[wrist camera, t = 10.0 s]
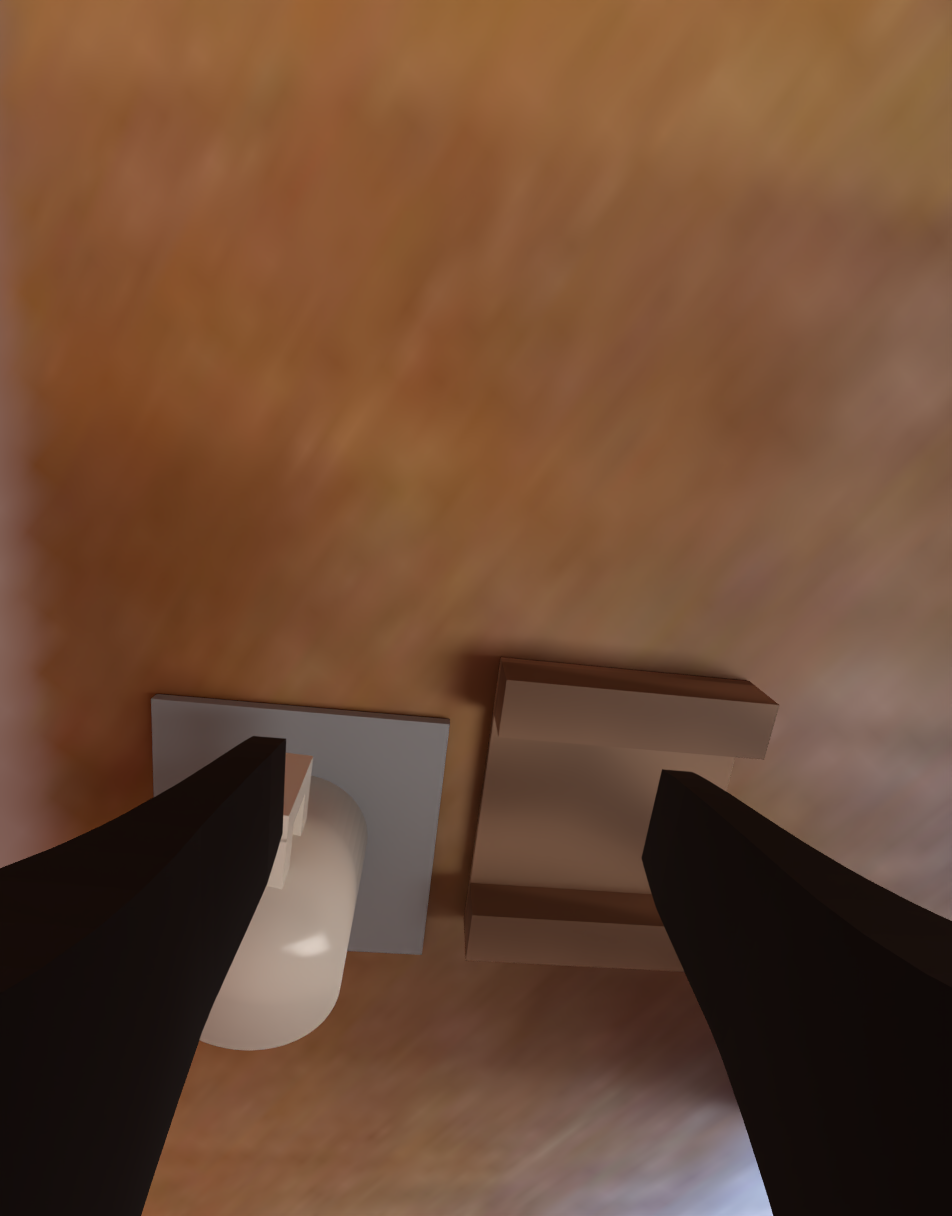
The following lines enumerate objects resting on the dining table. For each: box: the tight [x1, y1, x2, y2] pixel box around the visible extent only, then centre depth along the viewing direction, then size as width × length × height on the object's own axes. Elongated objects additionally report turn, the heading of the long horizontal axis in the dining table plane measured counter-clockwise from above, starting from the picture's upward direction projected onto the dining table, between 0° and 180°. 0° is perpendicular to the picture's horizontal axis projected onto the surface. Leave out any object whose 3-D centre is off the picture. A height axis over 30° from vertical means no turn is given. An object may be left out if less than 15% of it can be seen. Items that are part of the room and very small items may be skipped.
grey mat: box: [151, 694, 450, 955], centre depth 22 cm, size 10×10×1 cm
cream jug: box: [200, 753, 368, 1050], centre depth 18 cm, size 7×5×6 cm
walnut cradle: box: [464, 657, 779, 972], centre depth 22 cm, size 11×9×2 cm
